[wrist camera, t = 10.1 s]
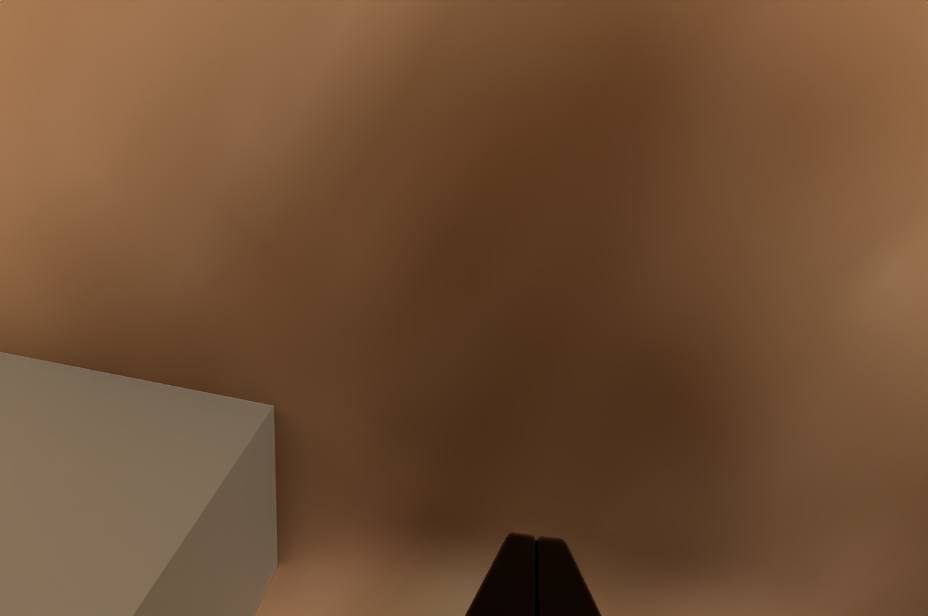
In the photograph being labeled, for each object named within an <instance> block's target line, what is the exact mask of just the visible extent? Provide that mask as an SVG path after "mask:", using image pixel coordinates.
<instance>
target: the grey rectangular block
mask: <svg viewBox="0 0 928 616" xmlns="http://www.w3.org/2000/svg"><path fill="white" fill-rule="evenodd" d="M277 566H278V551H277V509H276V466H275V424H274V405H269V404H264V403H259V402H254V401H249V400H244V399H239V398H233V397H228V396H223V395H218V394H213V393H208V392H203V391H198V390H193V389H188V388H183V387H177V386H172V385H167V384H162V383H157V382H152V381H147V380H142V379H137V378H132V377H126V376H121V375H116V374H111V373H106V372H101V371H96V370H91V369H86V368H81V367H75V366H70V365H65V364H60V363H55V362H50V361H45V360H40V359H35V358H30V357H25V356H19V355H14V354H9V353H4V352H0V616H254V615H255V613H256V611H257V608H258V606H259V604H260V602H261V600H262V598H263V596H264V594H265V592H266V590H267V587H268V585H269V583H270V581H271V579H272V577H273V575H274V573H275V571H276V568H277Z"/></svg>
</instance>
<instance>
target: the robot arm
mask: <svg viewBox="0 0 928 616" xmlns="http://www.w3.org/2000/svg"><path fill="white" fill-rule="evenodd" d="M465 616H601V614H600V612H599V610H598V607H597V605H596V603H595V601H594V599H593V597H592V595H591V593H590V591H589V589H588V587H587V585H586V583H585V581H584V578H583V576H582V574H581V572H580V570H579V568H578V566H577V564H576V562H575V560H574V558H573V556H572V554H571V551H570V549H569V547H568V545H567V544H566V542H565V541H564V540H563V539H560V538H552V537H544V536H540V537H538V538H537V539H535V537H534V536H533V535H528V534H520V533H509V534H508V535H507V537H506V538H505V540H504V542H503V544H502V546H501V548H500V550H499V552H498V554H497V556H496V557H495V559H494V561H493V563H492V565H491V567H490V569H489V571H488V573H487V575H486V577H485V579H484V580H483V582H482V584H481V586H480V588H479V590H478V592H477V594H476V596H475V598H474V600H473V602H472V603H471V605H470V607H469V609H468V611H467V613H466V615H465Z"/></svg>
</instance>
